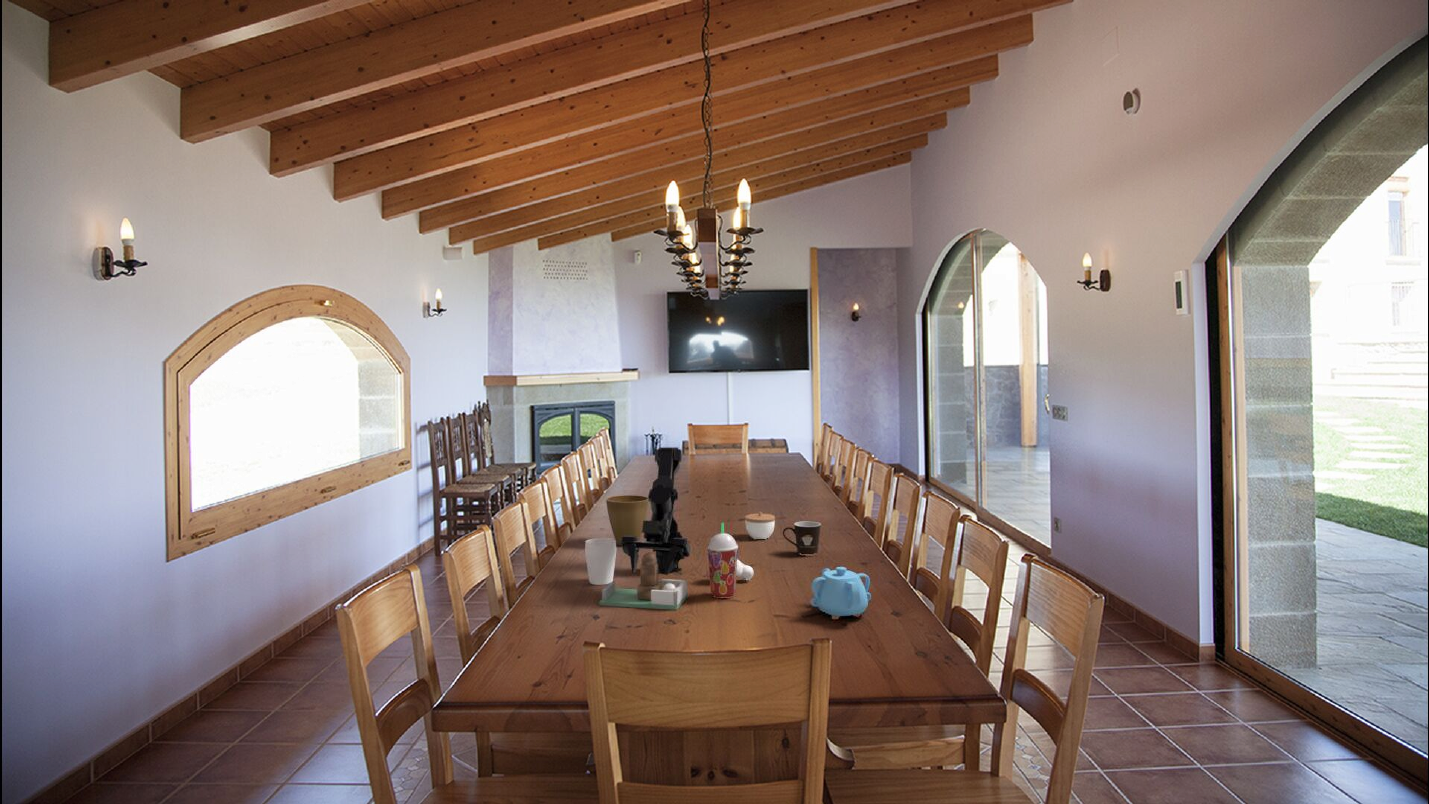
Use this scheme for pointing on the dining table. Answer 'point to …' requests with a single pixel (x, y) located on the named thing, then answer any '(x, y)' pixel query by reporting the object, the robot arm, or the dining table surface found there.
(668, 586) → the ball
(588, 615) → the dining table surface
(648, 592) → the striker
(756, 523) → the lidded jar
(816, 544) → the coffee mug
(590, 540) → the cup
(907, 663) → the dining table surface
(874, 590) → the dining table surface
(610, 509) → the plant pot
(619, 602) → the pitch
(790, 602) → the dining table surface
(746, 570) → the penguin figurine
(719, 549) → the smoothie
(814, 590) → the teapot
